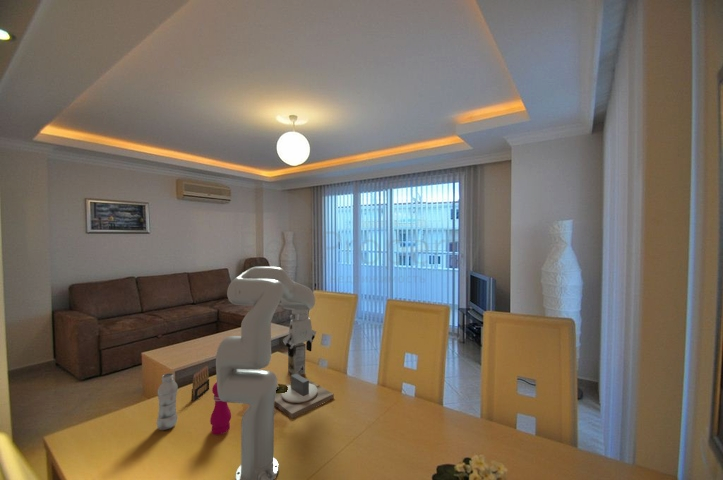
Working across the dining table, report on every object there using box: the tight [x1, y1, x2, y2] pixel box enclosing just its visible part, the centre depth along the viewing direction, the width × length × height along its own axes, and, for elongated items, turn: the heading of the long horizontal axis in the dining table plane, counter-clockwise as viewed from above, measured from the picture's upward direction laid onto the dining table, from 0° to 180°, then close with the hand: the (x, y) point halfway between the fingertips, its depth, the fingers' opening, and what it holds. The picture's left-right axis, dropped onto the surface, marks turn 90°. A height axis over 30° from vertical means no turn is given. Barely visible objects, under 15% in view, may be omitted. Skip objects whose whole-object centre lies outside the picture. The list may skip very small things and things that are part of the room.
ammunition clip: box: [190, 365, 210, 402], centre depth 138 cm, size 11×2×12 cm, turn 175°
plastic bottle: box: [156, 372, 179, 431], centre depth 114 cm, size 6×7×20 cm
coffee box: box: [287, 341, 306, 376], centre depth 162 cm, size 9×6×16 cm
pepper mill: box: [209, 381, 232, 436], centre depth 113 cm, size 7×7×20 cm
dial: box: [282, 373, 317, 403], centre depth 135 cm, size 16×16×7 cm
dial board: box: [274, 377, 334, 419], centre depth 135 cm, size 22×22×2 cm
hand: (300, 353), depth 136 cm, fingers open, 9 cm apart
